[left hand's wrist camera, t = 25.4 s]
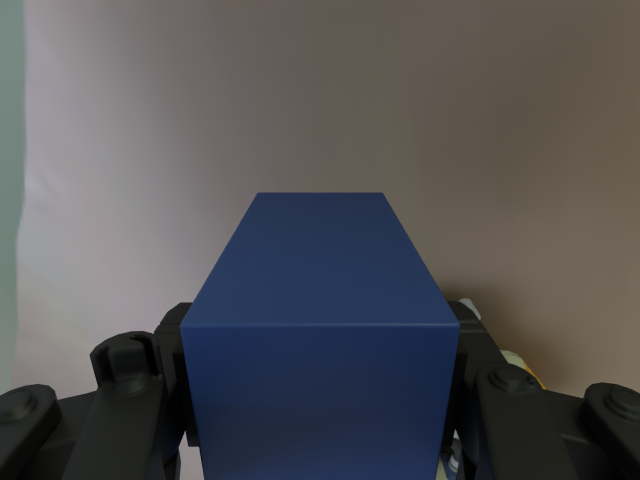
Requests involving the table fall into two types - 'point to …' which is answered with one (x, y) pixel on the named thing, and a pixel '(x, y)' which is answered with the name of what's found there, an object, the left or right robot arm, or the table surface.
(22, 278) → the table surface
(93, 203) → the table surface
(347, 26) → the table surface
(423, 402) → the block
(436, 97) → the table surface
